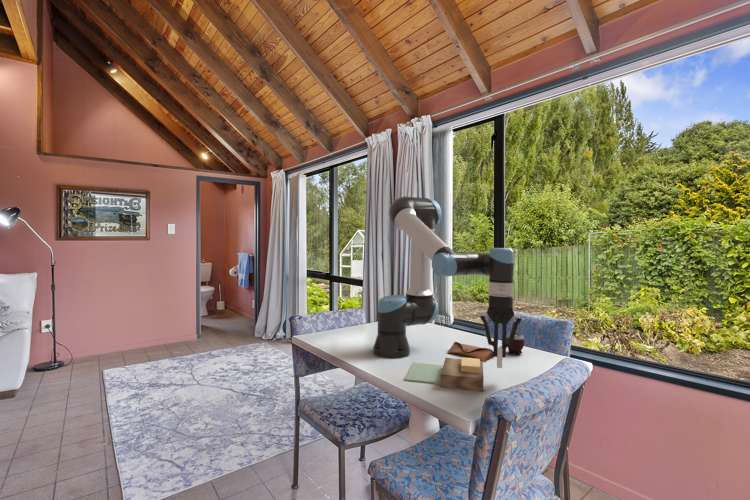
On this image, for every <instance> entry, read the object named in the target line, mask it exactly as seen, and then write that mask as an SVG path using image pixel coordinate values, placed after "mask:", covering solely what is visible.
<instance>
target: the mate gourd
mask: <svg viewBox="0 0 750 500" xmlns="http://www.w3.org/2000/svg"><path fill="white" fill-rule="evenodd" d="M529 321H531V318H530V319H528V320H526V321H523V323H522V325H521V327H520V330H519V333H517V332H516V333H515V337H514V340H513V344H512V346H511V347H510V346H509V347H507V350H508V352H507V354H509V355H516V356H519V355H520V356H521V354H523V352H522V351H523V348H524V346H525V338H524V336H523V334H522V331H523V328H524V327H525V326H526V324H527V323H528V322H529ZM509 336H510V332H509V333H508V334H507V335H506V342H508V339H509ZM514 353H515V354H514Z"/></svg>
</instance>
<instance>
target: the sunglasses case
mask: <svg viewBox="0 0 750 500" xmlns="http://www.w3.org/2000/svg"><path fill="white" fill-rule="evenodd" d="M493 351H494V350H492V349H491V348H488V347H487V348H486V347H480V346H475V345H471V344H470V345H469V344H465V343H461V342H458V341H454V342H453V344H452V345H451V347H450V348H449V349H448V351H447V352H446V355H452V356H458V357H461V358H462V357H465V358H476V359H480V361H483V363H486V362H488V361H490V360H492V359H494V358H495V357H494V354H493Z"/></svg>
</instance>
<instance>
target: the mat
mask: <svg viewBox="0 0 750 500" xmlns="http://www.w3.org/2000/svg"><path fill="white" fill-rule="evenodd" d="M443 365H444V364H436V363H435V364H433V363H426V362H425V363H424V362H416V361H415V362H414V361H413V363H412V364H411V367H410V368H409V370H408V372H407V374H406V376H405V378H404V381H406V382H407V381H408V382H413V383H414V382H415V383H417V382H418V383H423V384H424V383H425V384H432V385H433V384H435V385H441V372H442V369H443Z"/></svg>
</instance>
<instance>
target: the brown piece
mask: <svg viewBox="0 0 750 500" xmlns="http://www.w3.org/2000/svg"><path fill="white" fill-rule="evenodd" d="M461 361H462V358H456V357H455V358H453V357H452V358H451V357H445V358H444V362H443V364H442V365H443V369H442V372H441V384H440V387H441V388H448V389H458V390H467V391H476V392H477V391H478V392H484V362H483V361H480V373H471V372H461Z"/></svg>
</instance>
